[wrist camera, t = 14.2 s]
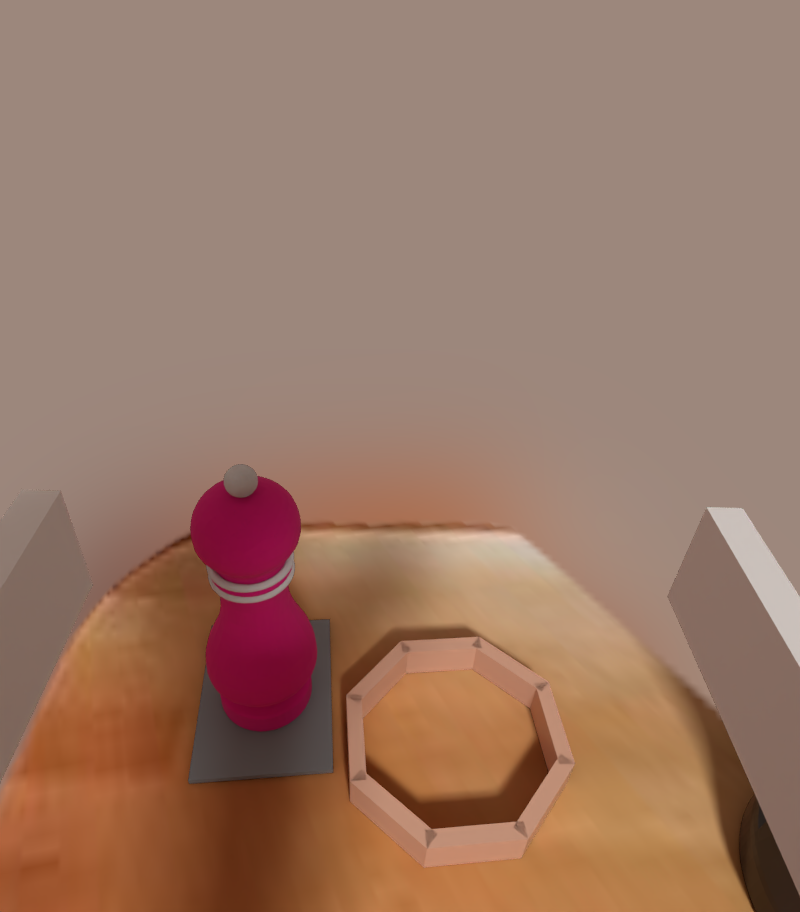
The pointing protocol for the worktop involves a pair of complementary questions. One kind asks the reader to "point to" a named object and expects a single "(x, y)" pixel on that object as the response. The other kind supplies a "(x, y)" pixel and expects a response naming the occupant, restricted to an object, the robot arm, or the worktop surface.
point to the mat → (267, 733)
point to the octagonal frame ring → (464, 840)
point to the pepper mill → (254, 600)
